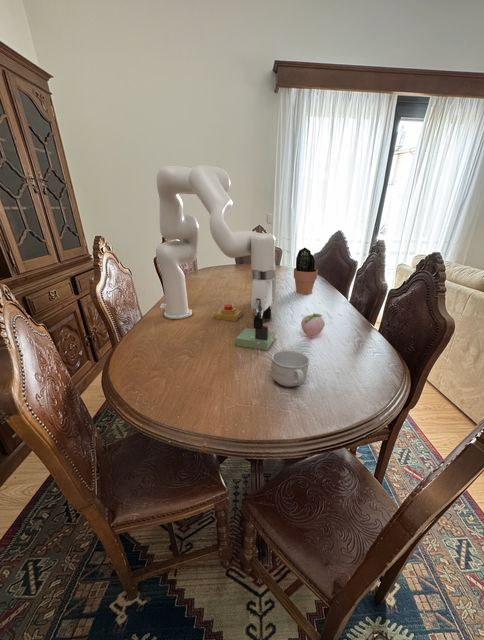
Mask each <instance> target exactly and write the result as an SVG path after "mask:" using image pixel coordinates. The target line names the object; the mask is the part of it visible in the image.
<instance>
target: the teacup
mask: <svg viewBox="0 0 484 640" xmlns="http://www.w3.org/2000/svg"><path fill="white" fill-rule="evenodd" d="M309 364H310V358H309V357H308V356H307V355H306V354H305V353H302V352H301V351H298V350H297V351H296V350H291V349H283V350H277V351H275V352H273V354H271V364H270V374H271V377H272V378H273V380H274V381H275V382H277V384H279V385H281V386H283V387H288V388H291V387H296V386H299V385H302V384H303V383H304V381H306V378H307V375H308V370H309Z"/></svg>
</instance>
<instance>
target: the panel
mask: <svg viewBox="0 0 484 640" xmlns="http://www.w3.org/2000/svg"><path fill="white" fill-rule="evenodd" d="M275 340H276V331H269V330H268V340H261V339H255V329H254V328H248V327H244V329H243V330H242V331H241V332H240V333H239V334H238V336H236V338H235V342H236V343H235V346H237V347H243V348H250V349H257V350H263V351H269V349H270V347H271V346H272V344H273V342H274V341H275Z"/></svg>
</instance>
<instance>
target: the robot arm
mask: <svg viewBox="0 0 484 640" xmlns="http://www.w3.org/2000/svg"><path fill="white" fill-rule="evenodd" d="M156 188H157V193H158V198H159V199H158V200H159V232H160V235H161V237H162V238H163V239H165V240H169V241H165V242H161V243H160V244H158V245H157V246H156V249H155V255H156V259H157V262H158V266H159V268H160V274H161V279H162V280H161V281H162V286H163V293H164V298H165V299H164V300H165V303H160V306H159V309H160V310H164V312H163V315H164V317H165V318H167V319H169V320H181V319H182V320H183V319H187V318H189V317H191V316H192V315H193V310H192V309H191V308H189V302H188V301H189V300H188V291H187V284H186V276H185V273H184V271H183V270H182V268H181V267H180V265H181V266H182V265H184V264H190V263H194V262H195V261H196V259H197V257H198V249H199V236H200V227H199V222H198V220H197V218H196V217H195V215H193V214H191V213H187V212H185V213H184V203H183V199H182V198H181V195H196V197H197V198H198V199H199V200H200V202H201V204H202V206H204V208H205V209H206V211H207V212H208V214H209V230H210V234H211V237H212V239H213V241H214V242H215V244H216V245H217V247H218V248H219V250H220V251H221V252H222V253H223V255H225V256H226V257H228V258H230V259H237V258H241V257H248V256H250V266H251V267H250V268H251V269H250V271H251V277H250V278H251V280H252V281H251V282H252V284H251V295H250V310H251V311H253V313H252V315H253V316H252V318H253V329H263V325H264V323H263V319H270V320H271V319H272V305H271V303H272V280H274V274H275V265H276V237H275V235H274V234H272V233H268V232H267V233H266V232H257V231H254V230H244V231H243V230H242V231H232V230H231V228H230V227H229V226H228V224H227V222H226V220H225V217H226V216H228V214H229V213H230V212H231V210H232V209H233V200H232V199H231V197H230V195H229V194H228V192H229V191H230V190H231V189H230V188H231V178H230V176H229V174H228V172H227V170H225V169H223V168H222V167H220V166H219V167H218V166H214V165H213V166H212V165H204V164H201V165H196V166H193V167H192V166H184V165H176V164H175V165H164V166H162V167H161V168H160V169H158V171H157V175H156ZM258 308H262V309H258ZM270 308H271V309H270ZM258 311H260V312H261V313H259V312H258Z"/></svg>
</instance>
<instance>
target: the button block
mask: <svg viewBox="0 0 484 640" xmlns="http://www.w3.org/2000/svg"><path fill="white" fill-rule="evenodd" d="M242 316H243V310H240V309H237V308H236V306H233V305H232V310H225V309H224V306H222V307H221V308H220V309H219V310H217V312H215V313H214V319H218V320H224V321H232V322H236V321H238V320H239V319H240V318H241V317H242Z"/></svg>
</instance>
